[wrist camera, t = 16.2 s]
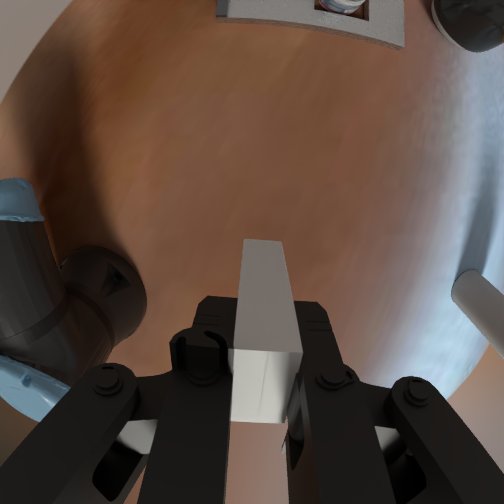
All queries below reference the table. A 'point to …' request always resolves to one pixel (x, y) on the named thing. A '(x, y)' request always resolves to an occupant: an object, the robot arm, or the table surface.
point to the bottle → (481, 306)
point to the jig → (321, 18)
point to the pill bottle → (341, 6)
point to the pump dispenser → (470, 22)
